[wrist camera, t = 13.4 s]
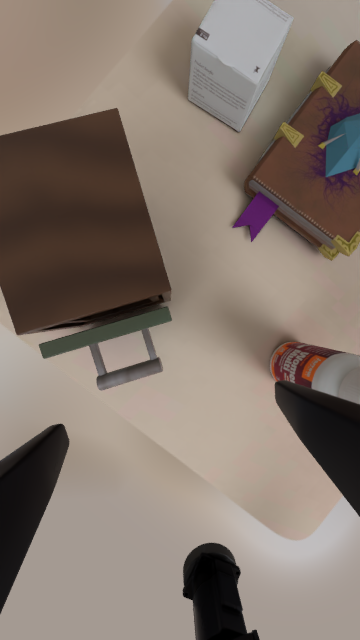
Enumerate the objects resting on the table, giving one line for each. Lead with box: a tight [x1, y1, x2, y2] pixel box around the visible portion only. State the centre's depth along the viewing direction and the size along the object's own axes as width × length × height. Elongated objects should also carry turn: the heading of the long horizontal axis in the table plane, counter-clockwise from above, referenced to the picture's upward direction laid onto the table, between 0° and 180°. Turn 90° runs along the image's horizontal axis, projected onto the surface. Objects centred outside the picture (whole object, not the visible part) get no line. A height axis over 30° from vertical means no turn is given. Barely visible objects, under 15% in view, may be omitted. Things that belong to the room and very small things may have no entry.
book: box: [232, 40, 360, 261], centre depth 22 cm, size 16×25×5 cm, turn 143°
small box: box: [188, 0, 294, 132], centre depth 20 cm, size 8×8×5 cm
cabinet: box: [0, 108, 171, 335], centre depth 18 cm, size 14×12×10 cm
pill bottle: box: [270, 342, 360, 404], centre depth 19 cm, size 6×6×11 cm
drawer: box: [39, 296, 172, 390], centre depth 18 cm, size 17×10×8 cm, turn 17°
